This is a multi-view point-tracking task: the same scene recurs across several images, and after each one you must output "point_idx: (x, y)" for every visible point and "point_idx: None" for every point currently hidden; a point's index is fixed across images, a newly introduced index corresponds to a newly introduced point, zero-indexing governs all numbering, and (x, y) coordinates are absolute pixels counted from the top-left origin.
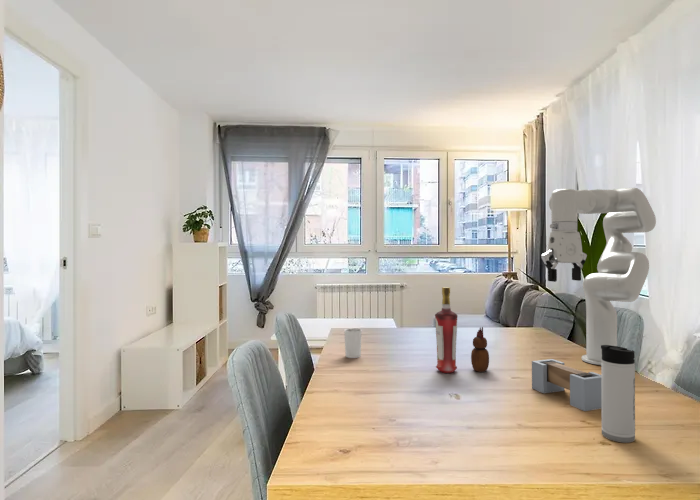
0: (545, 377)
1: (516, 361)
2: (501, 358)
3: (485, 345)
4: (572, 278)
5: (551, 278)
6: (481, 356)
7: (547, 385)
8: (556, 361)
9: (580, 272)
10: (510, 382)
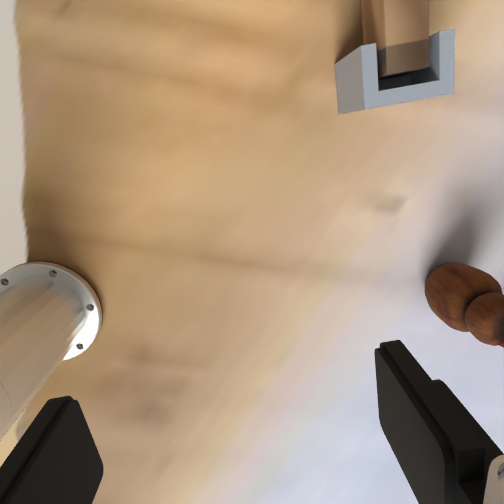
0: None
1: (292, 346)
2: (316, 378)
3: (485, 296)
4: (98, 475)
5: (433, 380)
6: (484, 273)
7: None
8: (374, 70)
9: (5, 472)
10: (430, 165)
